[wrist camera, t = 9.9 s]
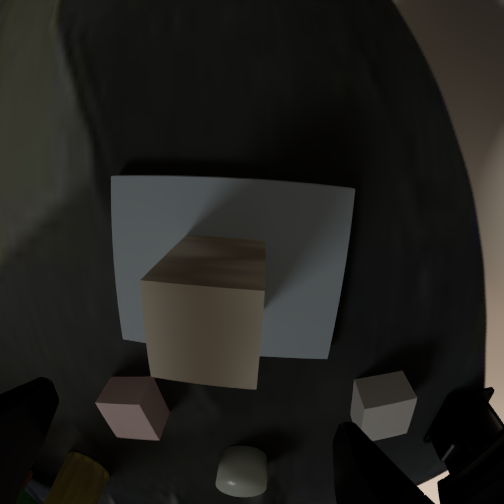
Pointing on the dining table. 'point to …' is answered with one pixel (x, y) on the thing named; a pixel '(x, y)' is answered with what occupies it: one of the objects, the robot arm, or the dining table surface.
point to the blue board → (245, 227)
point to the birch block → (206, 311)
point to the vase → (78, 481)
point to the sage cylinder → (242, 471)
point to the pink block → (133, 407)
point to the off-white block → (383, 405)
